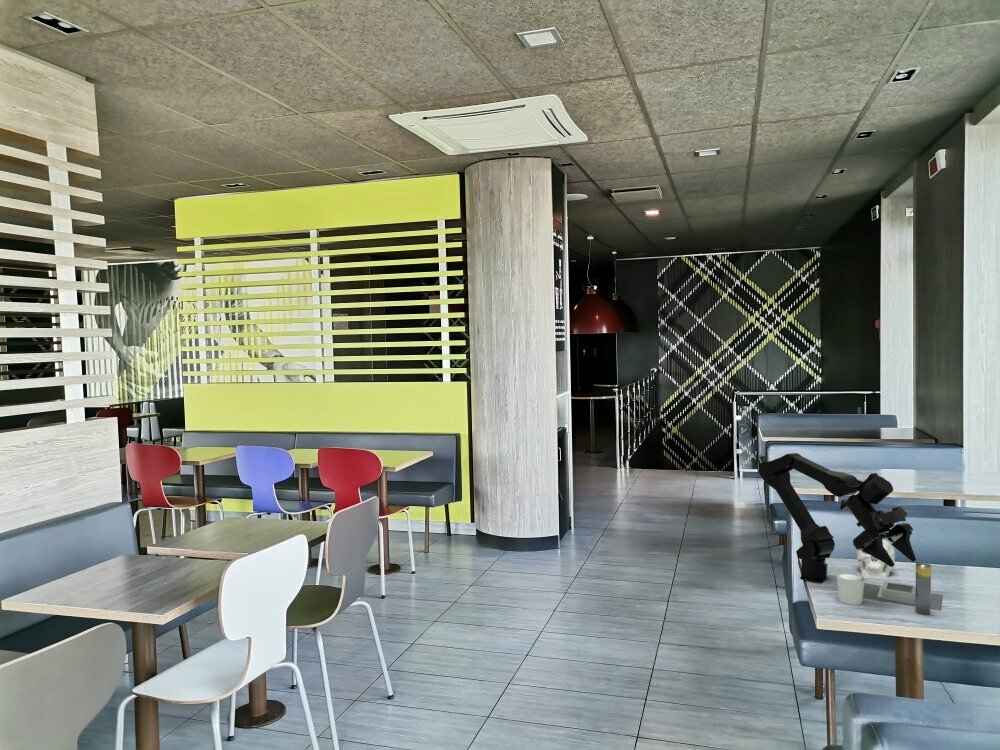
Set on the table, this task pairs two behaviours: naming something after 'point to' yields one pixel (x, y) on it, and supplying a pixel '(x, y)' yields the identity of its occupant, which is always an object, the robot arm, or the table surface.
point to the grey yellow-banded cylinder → (923, 589)
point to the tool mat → (873, 590)
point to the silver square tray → (897, 593)
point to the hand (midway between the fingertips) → (904, 563)
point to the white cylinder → (850, 588)
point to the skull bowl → (875, 563)
